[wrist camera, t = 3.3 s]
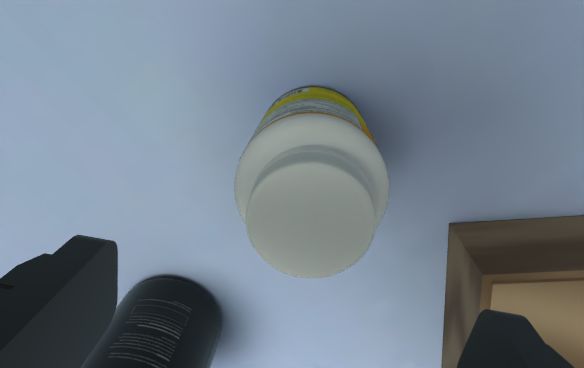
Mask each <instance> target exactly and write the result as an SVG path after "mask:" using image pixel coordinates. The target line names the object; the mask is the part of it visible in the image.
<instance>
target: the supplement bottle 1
mask: <svg viewBox="0 0 584 368" xmlns="http://www.w3.org/2000/svg"><path fill="white" fill-rule="evenodd" d="M220 331H221V319H220V315H219V312H218V309H217V307H216V306H215V304H214V302H213V301H212V300H211V298H210V297H209V296H208V295H207V294H206V293H205V292H203V291H202V290H201V289H199V288H198V287H196V286H194V285H192V284H190V283H188V282H186V281H182V280H179V279H174V278H155V279H151V280H147V281H144V282H142V283H140V284H138V285H137V286H135V287H134V288H132V289H131V290H130V291H129V292H128V293H127V294H126V296H125V297H124V298H123V300H122V301H121V303H120V304H119V305H118V307H117V308H116V310H115V313H114V316H113V319H112V321H111V324H110V325H109V327H108V329H107V330H106V332H105V333H104V335H103V336H102V338H101V339H100V340H99V342H98V343H97V345H96V346H95V348H94V349H93V350H92V352H91V353H90V355H89V356H88V358H87V359H86V360H85V362H84V363H83V365H82V366H81V368H210V367H211V364H212V360H213V357H214V354H215V350H216V347H217V343H218V340H219V336H220Z"/></svg>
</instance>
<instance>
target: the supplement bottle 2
mask: <svg viewBox="0 0 584 368" xmlns="http://www.w3.org/2000/svg"><path fill="white" fill-rule="evenodd" d="M234 188H235V199H236V203H237V207H238V210H239V213H240V215H241V217H242V219H243V221H244V223H245V224H246V228H247V233H248V236H249V239H250V241H251V243H252V245H253V247H254V248H255V250H256V251H257V253H258V254H259V255H260V256H261V257H262V258H263V259H264V261H266V262H267V263H268V264H270V265H271V266H272V267H274V268H276V269H277V270H279V271H281V272H283V273H286V274H289V275H292V276H296V277H302V278H322V277H328V276H331V275H334V274H337V273H340V272H342V271H344V270H346V269H348V268H349V267H351V266H352V265H353V264H355V263H356V262H357V261H358V260H359V259H360V258H361V257H362V256H363V255H364V253H365V252H366V251H367V249H368V248H369V246H370V244H371V241H372V239H373V236H374V232H375V229H376V228H377V226H378V225H379V223H380V221H381V219H382V217H383V215H384V213H385V210H386V207H387V203H388V197H389V179H388V173H387V169H386V166H385V163H384V160H383V158H382V155H381V153H380V152H379V150H378V148H377V146H376V144H375V141H374V139H373V137H372V135H371V134H370V132H369V130H368V128H367V126H366V124H365V122H364V120H363V118H362V116H361V114H360V112H359V111H358V109H357V108H356V106H355V105H354V104H353V103H352V102H351V101H350V100H349V99H348V98H347V97H345V96H344V95H342V94H341V93H339V92H337V91H335V90H333V89H330V88H327V87H322V86H304V87H300V88H296V89H294V90H291V91H289V92H287V93H285V94H284V95H282V96H281V97H280V98H279V99H277V100H276V101H275V102H274V103H273V104H272V106H271V107H270V108H269V109H268V111H267V113H266V114H265V116H264V117H263V119H262V121H261V123H260V124H259V126H258V127H257V129H256V131H255V133H254V135H253V136H252V138H251V140H250V142H249V143H248V145H247V147H246V148H245V150H244V152H243V154H242V156H241V158H240V161H239V164H238V167H237V171H236V175H235V185H234Z"/></svg>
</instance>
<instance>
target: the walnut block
mask: <svg viewBox="0 0 584 368" xmlns="http://www.w3.org/2000/svg"><path fill="white" fill-rule="evenodd" d="M485 309H490V310H495V311H501V312H506V313H512V314H517V315H522V316H524V317H526V318H527V319H528V320H529V322H530V323H531V324H532V326H533V327H534V328H535V330H536V331H537V333H538V334H539V335H540V337H541V338H542V339H543V341H544V342H545V344H548V345H549V346H550V347H552V348H553V349H554V350H555V351H556V352H557V353H558V354H560V355H561V356H562V357H563V358H564V359H565V360H567V361H568V362H569V363H570V364H571V365H572V366H573V367H574V368H584V216H570V217H553V218H536V219H519V220H502V221H485V222H468V223H451V224H449V237H448V255H447V274H446V293H445V311H444V330H443V349H442V368H457V364H458V361H459V358H460V356H461V354H462V352H463V349H464V347H465V345H466V342H467V340H468V338H469V336H470V333H471V331H472V329H473V326H474V324H475V322H476V320H477V317H478V315H479V314H480V312H482V311H483V310H485Z"/></svg>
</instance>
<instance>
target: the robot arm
mask: <svg viewBox="0 0 584 368" xmlns="http://www.w3.org/2000/svg"><path fill="white" fill-rule="evenodd" d="M117 278H118V250H117V245H116V243H115V242H114V241H111V240H105V239H100V238H94V237H88V236H83V235H76V236H74V237H72V238H71V239H70V240H69V241H68V242H66V243H65V244H64V245H63V246H62V247H61V248H59V249H58V250H57V251H56V252H55V253H54V254H52V255H51V254H42V255H40V256H38V257H35V258H33V259H31V260H29V261H26V262H24V263H22V264H20V265H17V266H16V267H15V268H13V269H12V270H11V271H10V272H8V273H7V274H6V275H4V276H3V277H2V278H1V279H0V368H81V366H82V365H83V363H84V362H85V360H86V359H87V358H88V356H89V355H90V353H91V352H92V350H93V349H94V348H95V346H96V345H97V343H98V342H99V340H100V339H101V338H102V336H103V335H104V333H105V332H106V330H107V329H108V327H109V325H110V324H111V321H112V319H113V316H114V313H115V310H116V306H117ZM457 368H574V367H573V366H572V365H571V364H570V363H569V362H568V361H567V360H565V359H564V358H563V357H562V356H561V355H560V354H558V353H557V352H556V351H555V350H554V349H553V348H552V347H550V346H549V345H548V344H545V342H544V341H543V339H542V338H541V337H540V335H539V334H538V333H537V331H536V330H535V328H534V327H533V326H532V324H531V323H530V322H529V320H528V319H527V318H526V317H524V316H522V315H517V314H512V313H506V312H501V311H495V310H490V309H485V310H483V311H482V312H480V314H479V315H478V317H477V320H476V322H475V324H474V326H473V329H472V331H471V333H470V336H469V338H468V340H467V342H466V345H465V347H464V349H463V352H462V354H461V356H460V358H459V361H458V364H457Z"/></svg>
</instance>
